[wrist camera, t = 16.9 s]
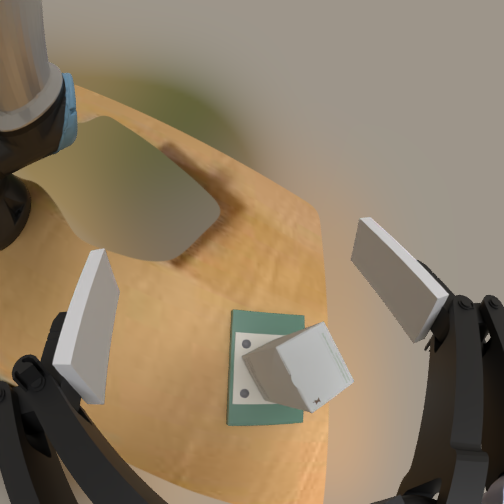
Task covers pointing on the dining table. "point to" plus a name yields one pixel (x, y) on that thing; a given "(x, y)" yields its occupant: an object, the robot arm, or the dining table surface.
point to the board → (239, 379)
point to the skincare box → (299, 369)
